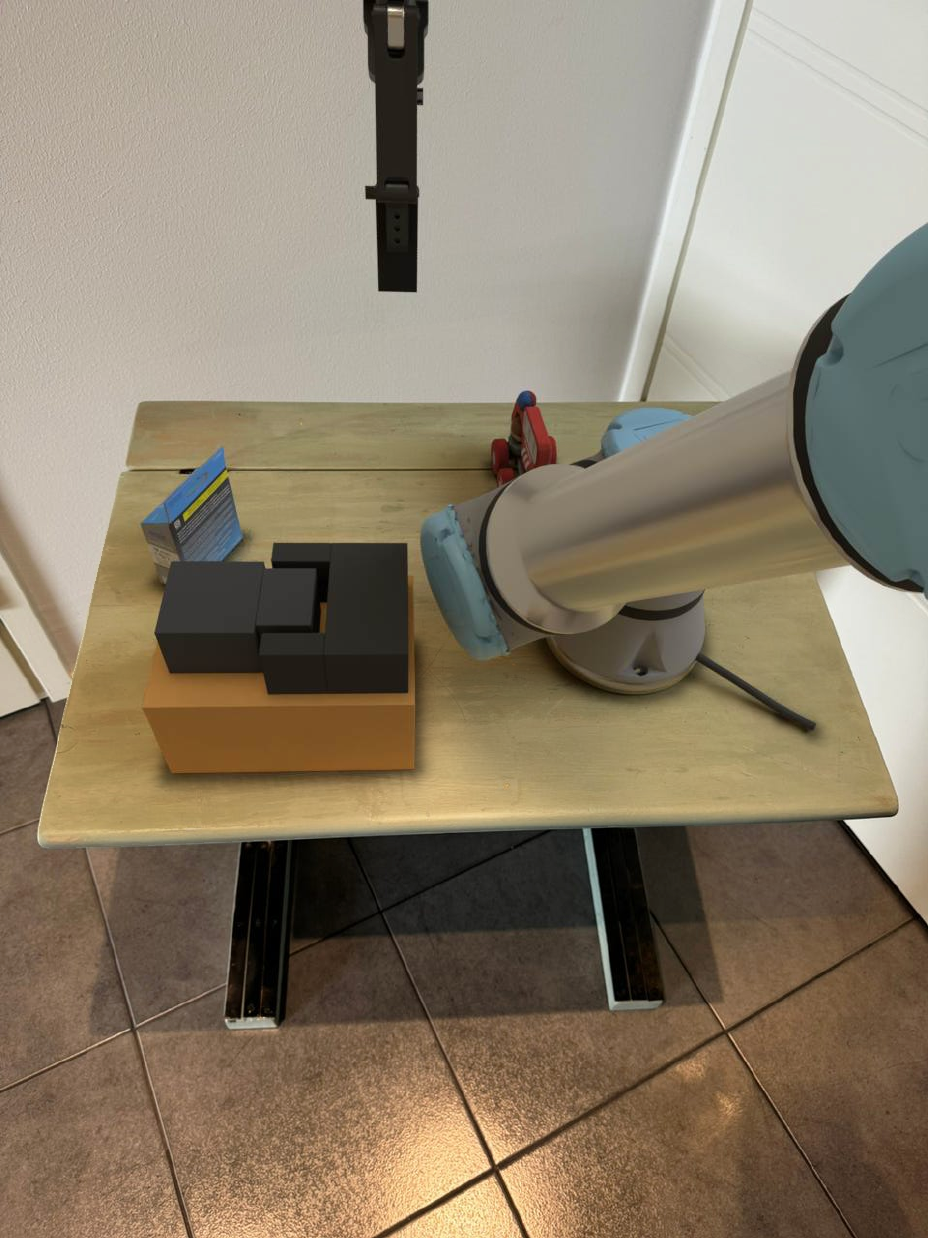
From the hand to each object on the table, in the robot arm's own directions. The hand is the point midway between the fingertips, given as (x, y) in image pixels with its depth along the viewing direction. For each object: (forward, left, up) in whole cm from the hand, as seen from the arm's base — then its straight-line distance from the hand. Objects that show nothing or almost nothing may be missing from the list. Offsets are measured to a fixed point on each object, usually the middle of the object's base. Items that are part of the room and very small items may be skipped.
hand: (397, 241), depth 63 cm
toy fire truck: (-4, -16, -32) cm, 36 cm away
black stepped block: (-6, +23, -22) cm, 32 cm away
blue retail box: (+12, +16, -32) cm, 38 cm away
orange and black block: (-8, +21, -32) cm, 39 cm away
